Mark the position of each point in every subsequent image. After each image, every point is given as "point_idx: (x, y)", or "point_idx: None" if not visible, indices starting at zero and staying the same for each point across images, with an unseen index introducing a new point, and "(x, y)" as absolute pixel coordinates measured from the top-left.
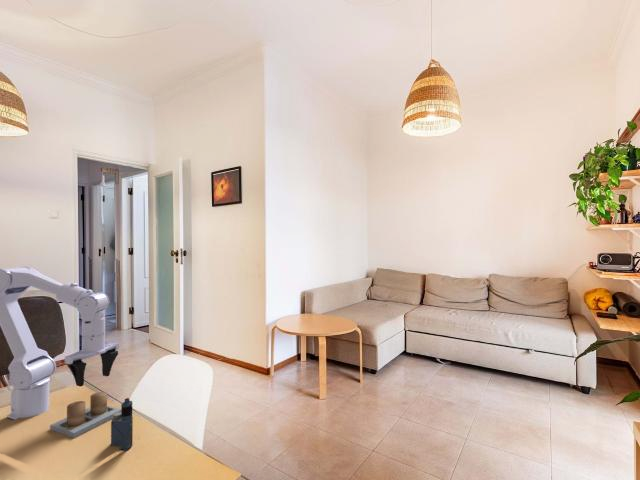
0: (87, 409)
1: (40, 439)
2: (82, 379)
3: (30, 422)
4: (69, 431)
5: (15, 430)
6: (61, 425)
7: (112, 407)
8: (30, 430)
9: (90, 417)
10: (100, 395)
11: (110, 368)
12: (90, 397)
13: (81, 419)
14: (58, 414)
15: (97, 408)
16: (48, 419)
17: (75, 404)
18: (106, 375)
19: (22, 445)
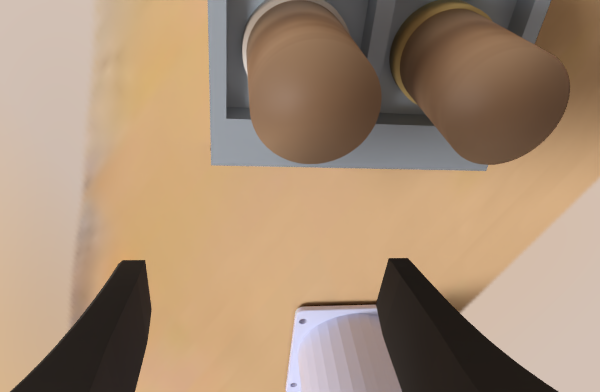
0: None
1: None
2: (432, 297)
3: None
4: None
5: (458, 286)
6: None
7: (215, 14)
8: (452, 242)
9: (378, 32)
10: (324, 79)
11: (96, 313)
12: (365, 134)
13: (473, 16)
14: (316, 272)
15: (347, 32)
16: (363, 266)
17: (507, 117)
18: (144, 276)
19: (565, 156)
